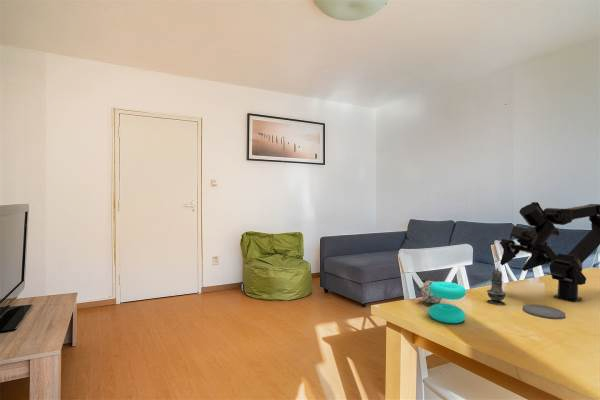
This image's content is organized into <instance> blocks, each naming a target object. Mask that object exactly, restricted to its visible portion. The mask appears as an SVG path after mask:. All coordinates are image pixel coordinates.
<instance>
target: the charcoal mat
mask: <svg viewBox="0 0 600 400" xmlns="http://www.w3.org/2000/svg"><path fill="white" fill-rule="evenodd" d="M522 311H523V312H525V313H526V314H528V315H531V316H534V317H539V318H544V319H548V320H549V319H550V320H562V319H565V318H566V312H564V311H563V310H560V309H557V308H555V307H550V306H547V305H539V304H525V305H524V304H523V305H522Z"/></svg>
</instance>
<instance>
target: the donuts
mask: <svg viewBox="0 0 600 400" xmlns="http://www.w3.org/2000/svg"><path fill="white" fill-rule="evenodd" d="M429 290H430V292H431V293H432V294H433V295H435V296H436V297H439V298H442V299H444V300H449V301H450V300H451V301H453V300H454V301H456V300H460V299H462V298H465V296H466V294H467V290H466V288H465V286H462V285H461V284H459V283H455V282H450V281H442V282H440V281H434V283H432V284H430V286H429ZM442 299H441V300H442ZM428 314H429V316H430V317H431V318H432V319H434V320H435V321H438V322H440V323H445V324H459V323H462V322H464V321H465V319H466V313H465V311H464V310H463V309H462V308H460V307H459V306H456V305H454V304H450V303H443V302H442V303H440V302H439V304H435V303H433V304H432V305H430V306H429V308H428Z"/></svg>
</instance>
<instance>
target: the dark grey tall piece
mask: <svg viewBox="0 0 600 400" xmlns="http://www.w3.org/2000/svg"><path fill="white" fill-rule="evenodd" d="M491 274H492V275H491V279H490V282H491V287H490V289H488V290H486V293H487V296H488V297H489V299H488V300H487V301H486V302H487V303H489V304H491V305H496V306H505V305H506V303H505V302H504V301H503V300H504V299H505V298H506V296H507V292H505V291H503V287H502V286H503V283H504V281H503V272H502V271H501V270H500V271H499V268H498V267H497V268H496V269H495V270H493V271H492V272H491Z"/></svg>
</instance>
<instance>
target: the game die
mask: <svg viewBox="0 0 600 400" xmlns="http://www.w3.org/2000/svg"><path fill="white" fill-rule="evenodd" d="M424 281H425V282H424V283H423V285H421V287H419V288H417V290H419V291H420V293H421V296H422V299H423V301H422V304H425V303H430V304H431V303H432V304H439V303H440V302H441V301H442V298H439V297H436V296H435V295H433V294H432V293H431V292H430V290H429V286H430V284H432V283H434V282H435V281H434V280H428V279H427V278H425V280H424ZM439 282H443V281H442V280H440V281H439Z"/></svg>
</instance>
